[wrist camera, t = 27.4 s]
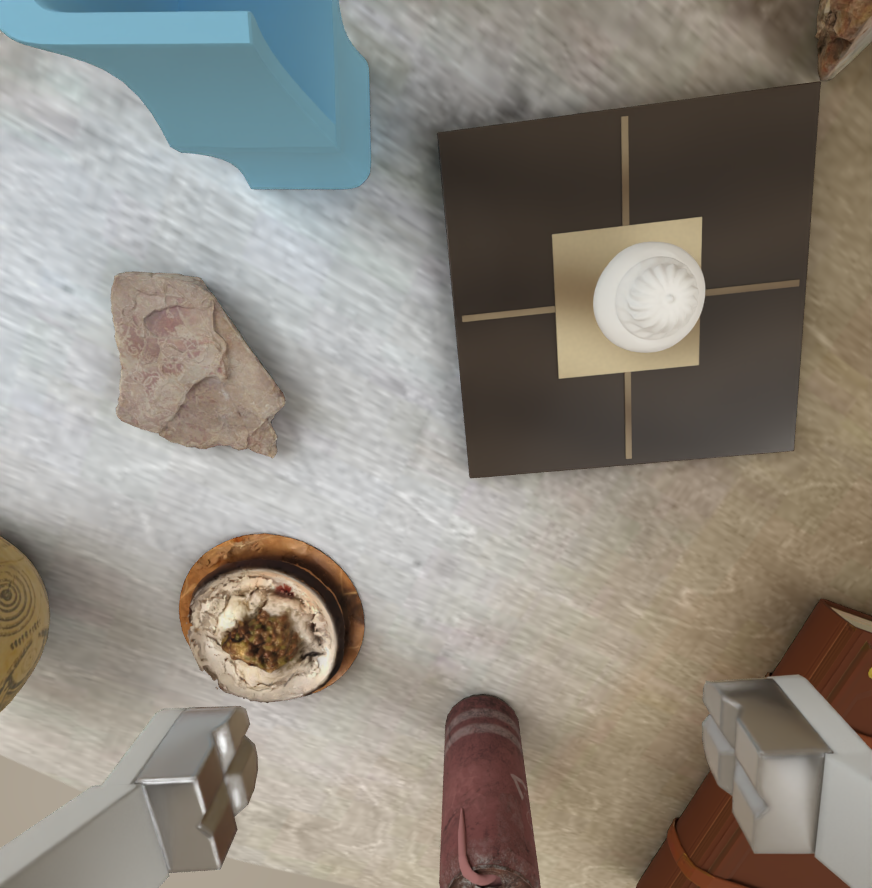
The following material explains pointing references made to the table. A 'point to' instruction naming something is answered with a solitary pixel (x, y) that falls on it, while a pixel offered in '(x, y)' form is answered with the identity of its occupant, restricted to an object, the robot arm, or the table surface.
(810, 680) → the book
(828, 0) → the rock
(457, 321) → the board
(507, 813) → the can
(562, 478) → the table surface
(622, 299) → the muffin
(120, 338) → the stone
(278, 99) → the vase
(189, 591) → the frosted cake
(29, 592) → the ceramic bowl
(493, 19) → the table surface
